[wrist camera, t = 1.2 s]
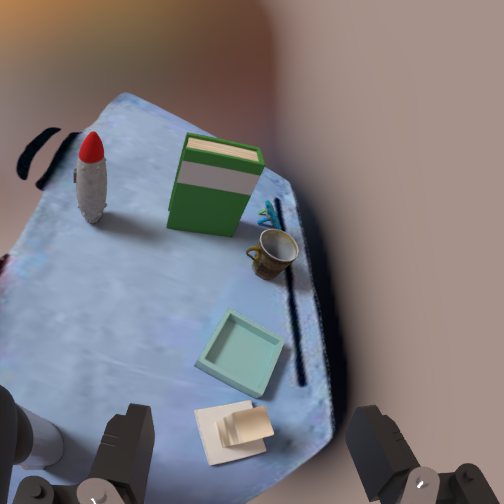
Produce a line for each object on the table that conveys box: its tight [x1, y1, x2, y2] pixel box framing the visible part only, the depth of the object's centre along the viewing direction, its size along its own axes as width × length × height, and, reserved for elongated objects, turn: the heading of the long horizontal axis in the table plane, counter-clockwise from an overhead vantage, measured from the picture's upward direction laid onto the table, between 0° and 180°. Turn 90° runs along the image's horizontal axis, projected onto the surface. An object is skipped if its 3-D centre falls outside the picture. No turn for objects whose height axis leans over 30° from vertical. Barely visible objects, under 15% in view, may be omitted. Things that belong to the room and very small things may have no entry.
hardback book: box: [167, 132, 265, 237], centre depth 72 cm, size 18×7×24 cm, turn 98°
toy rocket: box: [74, 131, 107, 223], centre depth 60 cm, size 8×8×25 cm
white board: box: [194, 400, 266, 465], centre depth 48 cm, size 11×11×2 cm
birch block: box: [215, 405, 274, 447], centre depth 44 cm, size 5×5×12 cm
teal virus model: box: [257, 200, 282, 231], centre depth 88 cm, size 11×6×10 cm
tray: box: [194, 307, 286, 399], centre depth 59 cm, size 14×14×4 cm
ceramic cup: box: [246, 229, 299, 279], centre depth 74 cm, size 13×10×10 cm
